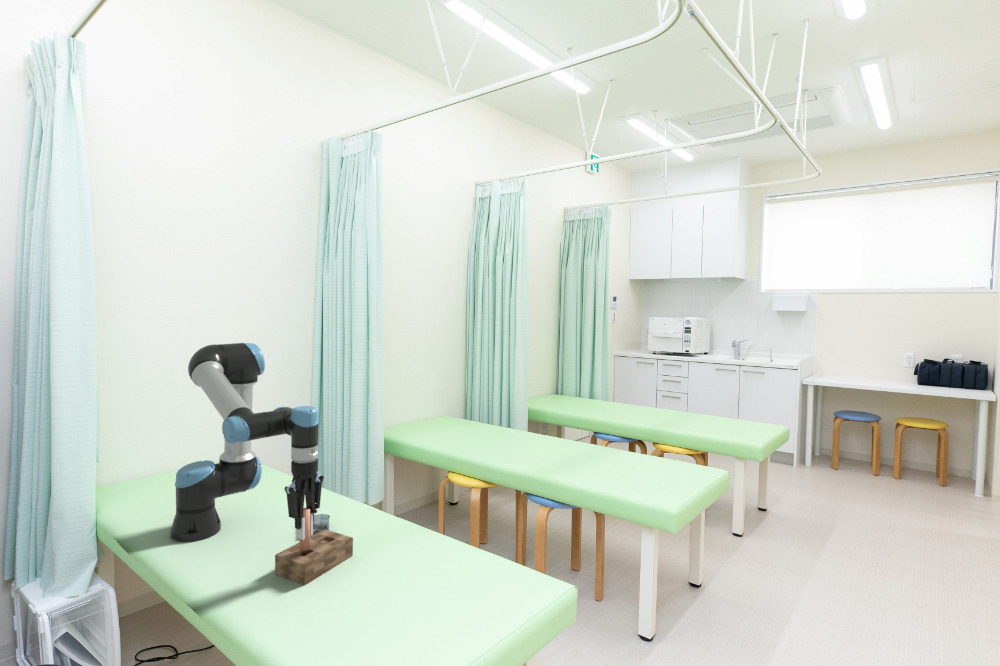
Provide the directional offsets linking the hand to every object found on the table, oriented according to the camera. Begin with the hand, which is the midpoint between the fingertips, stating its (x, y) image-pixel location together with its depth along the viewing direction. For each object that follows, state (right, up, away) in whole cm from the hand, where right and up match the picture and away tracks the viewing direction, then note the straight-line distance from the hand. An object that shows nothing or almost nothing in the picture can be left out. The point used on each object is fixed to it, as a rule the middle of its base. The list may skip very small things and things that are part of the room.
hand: (304, 536), depth 162 cm
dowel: (0, -4, 0) cm, 4 cm away
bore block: (+2, -11, +5) cm, 12 cm away
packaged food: (-6, -9, +28) cm, 30 cm away
